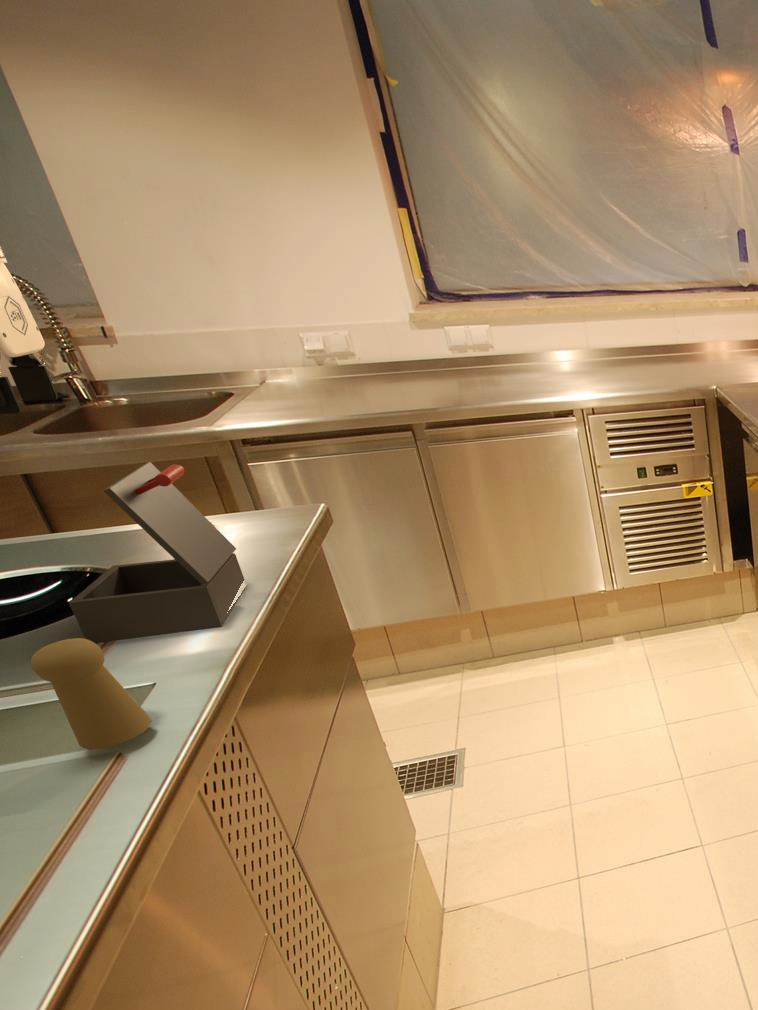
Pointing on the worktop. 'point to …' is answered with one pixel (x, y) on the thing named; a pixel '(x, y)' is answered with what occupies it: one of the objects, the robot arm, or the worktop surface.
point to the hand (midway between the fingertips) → (22, 406)
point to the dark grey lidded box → (155, 600)
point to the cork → (90, 694)
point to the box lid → (172, 519)
